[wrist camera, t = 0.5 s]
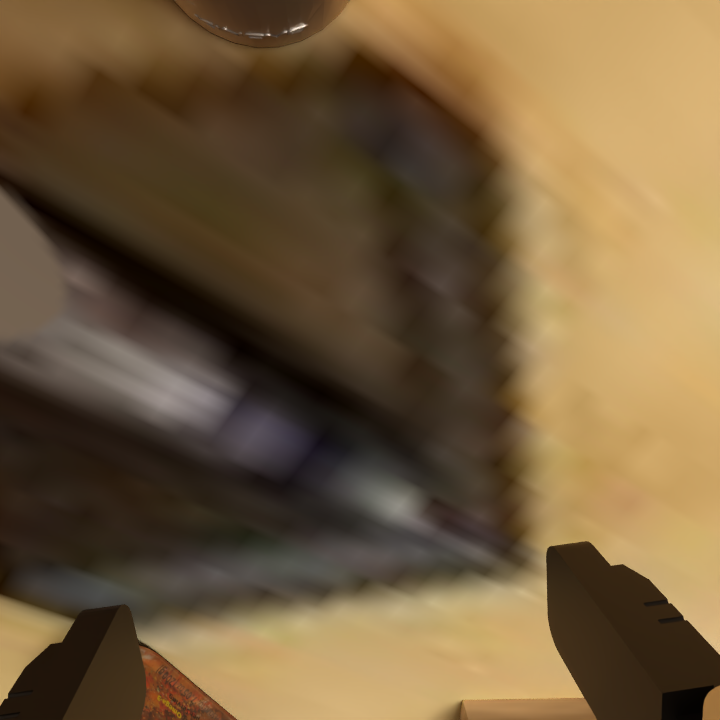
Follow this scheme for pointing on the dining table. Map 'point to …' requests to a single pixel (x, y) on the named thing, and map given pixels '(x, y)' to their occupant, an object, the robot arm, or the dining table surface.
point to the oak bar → (527, 709)
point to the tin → (174, 694)
